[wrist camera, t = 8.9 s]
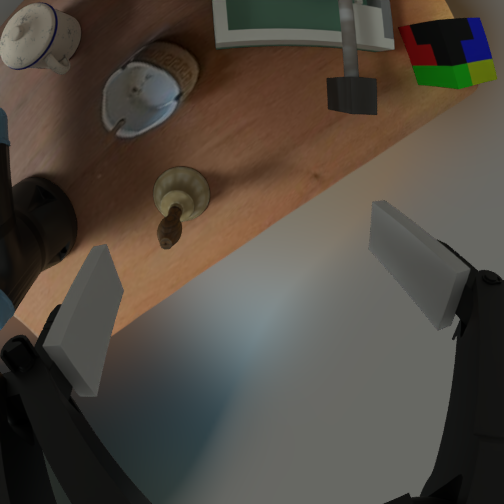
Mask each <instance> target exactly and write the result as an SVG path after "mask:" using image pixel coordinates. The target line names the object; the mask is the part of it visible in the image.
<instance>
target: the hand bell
mask: <svg viewBox="0 0 504 504" xmlns="http://www.w3.org/2000/svg"><path fill="white" fill-rule="evenodd" d="M153 198H154V202H155V205H156V207H157V208H158V210H159V211H160V212H161V213H162V214H163V215H164V217H165V218H164V219H163V220H162V221H161V222H160V224H159V227H158V230H157V236H158V240H159V242H160V246H161V248H162V249H170V248H171V247H172V246H173V245H174V244H176V243H177V242H178V240H179V239H180V236H181V233H182V224H181V222H183V221H188V220H192V219H194V218H196V217H198V216H199V215H200V214H202V212H203V211H204V210H205V209H206V207H207V205H208V203H209V199H210V190H209V186H208V183H207V181H206V180H205V178H204V177H203V176H202V175H201V174H200V173H199V172H197V171H196V170H194V169H191V168H188V167H175V168H171V169H169V170H167V171H165V172H164V173H163V174H161V175H160V176H159V178H158V179H157V181H156V183H155V185H154V189H153Z"/></svg>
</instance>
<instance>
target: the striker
mask: <svg viewBox="0 0 504 504" xmlns="http://www.w3.org/2000/svg"><path fill="white" fill-rule="evenodd" d="M338 5H339V14H340V24H341V34H342V46H343V61H344V77H335V78H327V96H328V109H329V110H334V111H339V112H344V113H349V114H366V115H377V82H376V79H375V78H364V77H359V72H358V55H357V42H356V30H355V20H354V11H353V3H352V0H338Z"/></svg>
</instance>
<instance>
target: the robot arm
mask: <svg viewBox="0 0 504 504" xmlns="http://www.w3.org/2000/svg"><path fill="white" fill-rule="evenodd" d="M9 146H10V141H9V140H8V120H7V115H6V113H5V111H4V110H3V109H2V108H0V330H1V329H2V328H3V327H4V325H5V324H6V323H7V321H8V320H9V319H10V318H11V317H12V316H13V315H14V313H15V311H16V309H17V308H18V306H19V304H20V303H21V301H22V300H23V298H24V296H25V295H26V293H27V292H28V290H29V289H30V287H31V286H32V284H33V283H34V281H35V280H36V278H37V277H38V275H39V274H40V273H41V272H42V271H44V270H46V269H48V268H50V267H52V266H54V265H56V264H58V263H59V262H61V261H62V260H63V259H64V258H65V257H66V256H67V254H68V253H69V251H70V250H71V249H72V247H73V245H74V243H75V240H76V236H77V220H76V215H75V212H74V209H73V206H72V204H71V202H70V200H69V199H68V197H67V196H66V194H65V193H64V192H63V191H62V190H61V189H60V188H59V187H58V186H57V185H55V184H54V183H52V182H51V181H49V180H46V179H44V178H39V177H31V178H27V179H24V180H22V181H20V182H19V183H17V184H16V185H14V186H13V187H12V183H11V172H10V155H9ZM369 250H370V251H371V252H372V254H373V255H374V256H375V257H376V258H377V259H378V260H379V261H380V262H381V264H382V265H383V266H384V267H385V268H386V269H387V270H388V271H389V272H390V274H391V275H392V276H393V277H394V278H395V280H396V281H397V282H398V283H399V284H400V285H401V286H402V288H403V289H404V290H405V291H406V292H407V294H408V295H409V296H410V297H411V298H412V300H413V301H414V302H415V303H416V304H417V306H418V307H419V308H420V309H421V311H423V313H424V314H425V315H426V317H427V318H428V319H429V320H430V322H431V323H432V324H433V325H434V327H435V328H436V329H437V330H441V329H443V328H445V327H448V326H451V324H452V321H453V319H454V316H455V314H456V315H457V316H458V317H459V318H460V321H459V323H458V326H457V328H456V331H455V333H454V335H453V338H452V340H454V339H455V337H456V336H457V344H456V355H455V364H454V373H453V381H452V388H451V394H450V401H449V406H448V412H447V417H446V422H445V427H444V431H443V435H442V440H441V444H440V448H439V452H438V455H437V459H436V463H435V466H434V469H433V472H432V474H431V476H430V477H429V479H428V480H427V482H426V484H425V486H424V488H423V490H422V492H421V494H420V497H412V498H411V497H410V494H409V493H407V494H405V495H403V496H401V497H398V498H396V499H394V500H391V501H389V502H387V503H384V504H504V280H502V279H501V277H500V276H498V275H497V274H496V273H494V272H492V271H489V270H481V271H478V270H477V269H475V268H474V267H473V266H472V265H471V264H470V263H469V262H467V261H466V260H465V259H464V258H463V257H462V256H460V255H459V254H458V253H457V252H456V251H455V252H454V250H453V249H452V248H451V247H450V246H449V245H447V244H445V243H443V242H441V241H439V240H436V239H435V238H434V237H432V236H431V235H430V234H429V233H427V232H426V231H425V230H424V229H422V228H421V227H420V226H418V225H417V224H416V223H415V222H413V221H412V220H411V219H409V218H408V217H407V216H405V215H404V214H403V213H401V212H400V211H399V210H397V209H396V208H395V207H393V206H392V205H391V204H389V203H388V202H387V201H385V200H384V201H375V202H372V214H371V228H370V239H369ZM123 292H124V290H123V287H122V284H121V282H120V279H119V277H118V274H117V271H116V269H115V266H114V263H113V261H112V258H111V255H110V252H109V249H108V246H107V244H104V245H99V246H94V247H93V248H92V249H91V251H90V253H89V255H88V256H87V258H86V260H85V262H84V263H83V265H82V267H81V269H80V271H79V272H78V274H77V276H76V278H75V280H74V282H73V284H72V285H71V287H70V289H69V291H68V293H67V295H66V297H65V299H64V301H63V303H62V304H59V305H57V306H56V307H55V308H54V310H53V311H52V312H51V313H50V315H49V317H48V319H47V321H46V323H45V325H44V327H43V330H42V331H41V333H40V336H39V338H38V340H37V342H36V344H35V347H33V345H32V344H31V343H30V341H29V339H28V338H27V337H26V336H24V335H17V336H15V337H13V338H11V339H10V340H9V341H8V342H7V343H6V344H5V345H4V346H3V348H2V350H1V355H0V357H1V359H2V360H3V361H4V363H5V364H6V365H7V367H8V368H9V369H10V370H11V371H10V372H7V373H4V374H1V372H0V504H57V503H56V500H55V497H54V494H53V490H52V487H51V483H50V480H49V476H48V472H47V468H46V464H45V460H44V456H43V452H44V454H45V456H46V458H47V460H48V462H49V464H50V466H51V468H52V470H53V472H54V474H55V476H56V477H57V479H58V481H59V483H60V485H61V486H62V488H63V490H64V491H65V493H66V495H67V496H68V498H69V500H70V501H71V503H72V504H152V503H151V502H150V501H149V500H148V499H147V498H146V497H145V495H144V494H143V493H142V492H141V491H140V490H139V489H138V488H137V486H136V485H135V484H134V483H133V482H132V481H131V479H130V478H129V477H128V476H127V475H126V473H125V472H124V471H123V470H122V468H121V467H120V466H119V465H118V463H117V462H116V461H115V460H114V458H113V457H112V456H111V454H110V453H109V452H108V450H107V449H106V447H105V446H104V445H103V443H102V442H101V441H100V439H99V438H98V436H97V435H96V434H95V432H94V430H93V429H92V427H91V426H90V424H89V423H88V421H87V420H86V418H85V417H84V415H83V414H82V412H81V410H80V409H79V407H78V406H77V404H76V402H75V401H74V399H73V398H72V397H71V396H70V395H71V391H72V387H73V389H74V390H75V391H76V392H77V394H78V395H79V396H80V397H96V396H97V392H98V388H99V383H100V379H101V373H102V370H103V365H104V361H105V357H106V353H107V349H108V345H109V341H110V337H111V333H112V330H113V326H114V322H115V319H116V315H117V312H118V308H119V305H120V302H121V298H122V295H123ZM42 450H43V451H42Z"/></svg>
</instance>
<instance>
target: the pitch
mask: <svg viewBox="0 0 504 504" xmlns="http://www.w3.org/2000/svg"><path fill="white" fill-rule="evenodd" d="M352 3H353V11H354V20H355V30H356V42H357V50H362V51H371V52H380V51H387V50H394V49H395V48H394V36H393V25H392V16H391V8H390V1H389V0H352ZM212 10H213V22H214V34H215V46H216V50H218V49H228V48H241V47H261V46H311V47H330V48H343V46H342V34H341V24H340V14H339V5H338V0H212Z"/></svg>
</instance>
